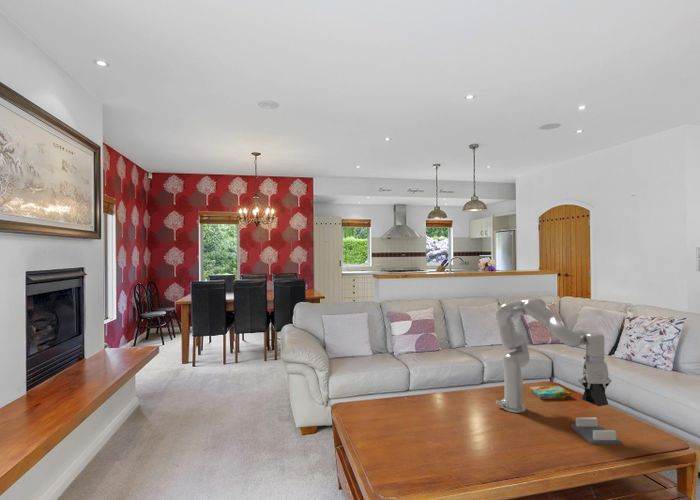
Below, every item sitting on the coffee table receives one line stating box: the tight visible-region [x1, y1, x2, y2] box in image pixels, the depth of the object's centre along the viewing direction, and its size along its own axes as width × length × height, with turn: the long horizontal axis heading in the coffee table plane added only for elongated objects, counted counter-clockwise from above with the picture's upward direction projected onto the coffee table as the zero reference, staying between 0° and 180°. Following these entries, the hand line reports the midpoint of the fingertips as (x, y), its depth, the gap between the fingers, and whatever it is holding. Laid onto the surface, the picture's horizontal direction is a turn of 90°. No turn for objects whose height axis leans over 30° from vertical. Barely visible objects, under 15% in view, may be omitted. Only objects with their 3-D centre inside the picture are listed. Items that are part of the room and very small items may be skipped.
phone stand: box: [581, 384, 609, 407], centre depth 181 cm, size 9×6×12 cm, turn 19°
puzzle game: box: [528, 385, 573, 400], centre depth 230 cm, size 12×5×20 cm
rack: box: [570, 416, 622, 445], centre depth 181 cm, size 14×16×6 cm
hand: (594, 395), depth 181 cm, fingers closed on phone stand, 6 cm apart
